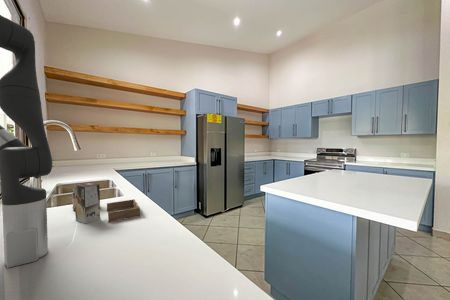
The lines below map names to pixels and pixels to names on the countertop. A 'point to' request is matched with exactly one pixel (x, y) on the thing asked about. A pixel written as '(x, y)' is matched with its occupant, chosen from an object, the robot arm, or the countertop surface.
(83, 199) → the coffee box
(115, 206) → the walnut pen
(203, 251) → the countertop surface
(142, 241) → the countertop surface
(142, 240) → the countertop surface
